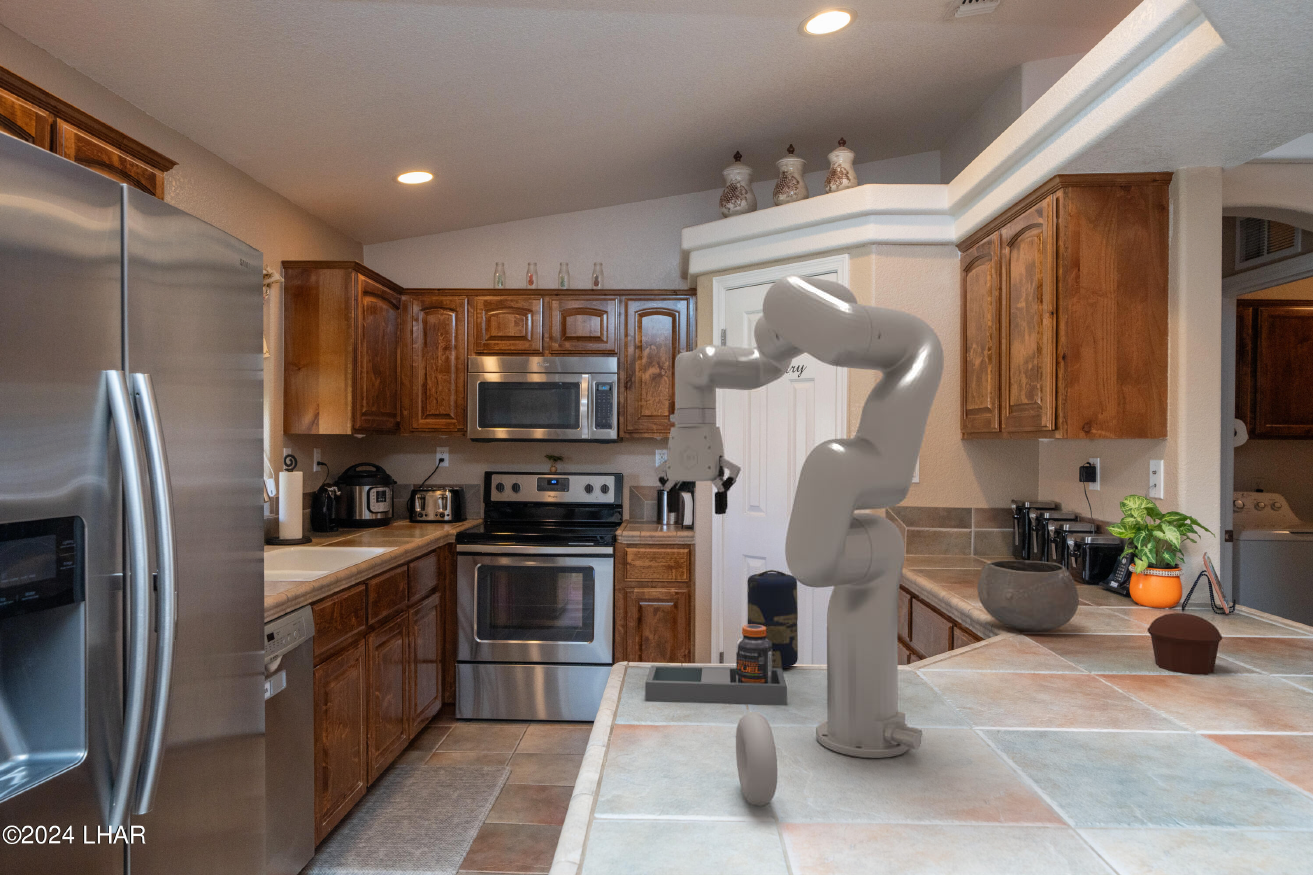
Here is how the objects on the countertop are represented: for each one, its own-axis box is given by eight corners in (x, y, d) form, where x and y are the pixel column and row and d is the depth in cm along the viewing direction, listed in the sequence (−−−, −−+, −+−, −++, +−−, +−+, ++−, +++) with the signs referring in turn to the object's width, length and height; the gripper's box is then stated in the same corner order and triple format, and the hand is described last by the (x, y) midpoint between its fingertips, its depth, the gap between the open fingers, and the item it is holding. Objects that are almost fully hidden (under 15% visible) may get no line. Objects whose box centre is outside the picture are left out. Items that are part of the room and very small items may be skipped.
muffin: (1154, 672, 140) (1153, 618, 140) (1141, 657, 150) (1140, 607, 150) (1232, 679, 135) (1231, 623, 135) (1213, 664, 145) (1212, 611, 146)
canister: (797, 673, 139) (797, 574, 139) (745, 670, 140) (745, 573, 141) (798, 659, 148) (798, 567, 148) (749, 657, 150) (749, 565, 150)
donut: (732, 783, 92) (732, 700, 92) (761, 782, 92) (760, 699, 92) (750, 823, 82) (749, 729, 82) (781, 821, 82) (781, 728, 82)
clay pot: (1098, 639, 165) (1097, 570, 165) (1001, 639, 165) (1001, 569, 166) (1049, 618, 186) (1048, 557, 186) (964, 618, 186) (963, 557, 187)
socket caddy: (782, 686, 131) (781, 668, 131) (786, 704, 121) (786, 685, 121) (651, 682, 133) (651, 665, 133) (645, 700, 123) (645, 682, 123)
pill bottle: (731, 697, 125) (731, 628, 125) (741, 687, 130) (741, 621, 130) (767, 701, 122) (767, 631, 123) (775, 691, 128) (775, 623, 128)
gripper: (645, 420, 140) (645, 513, 140) (729, 416, 131) (730, 515, 131) (665, 422, 147) (666, 511, 146) (747, 419, 138) (748, 513, 137)
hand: (696, 513), depth 138 cm, fingers open, 9 cm apart
